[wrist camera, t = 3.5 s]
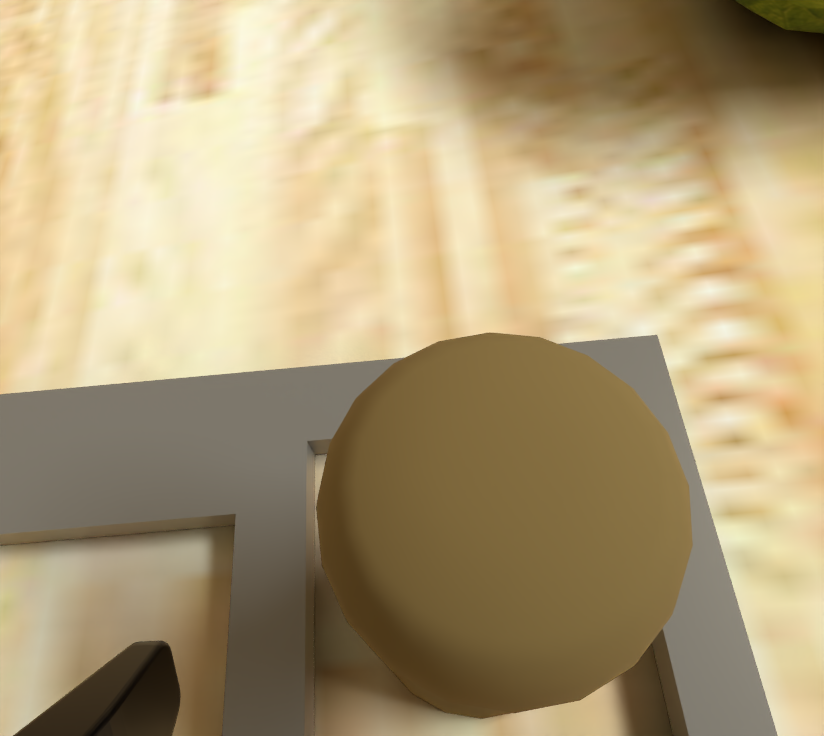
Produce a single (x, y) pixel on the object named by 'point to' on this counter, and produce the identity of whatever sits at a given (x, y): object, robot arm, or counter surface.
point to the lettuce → (790, 13)
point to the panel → (295, 518)
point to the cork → (503, 523)
